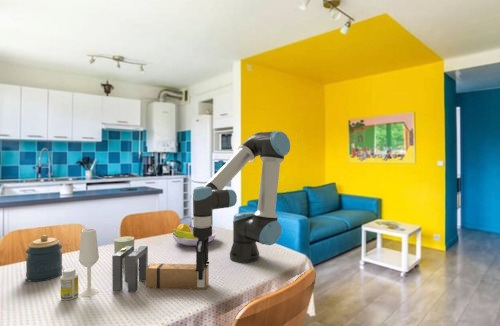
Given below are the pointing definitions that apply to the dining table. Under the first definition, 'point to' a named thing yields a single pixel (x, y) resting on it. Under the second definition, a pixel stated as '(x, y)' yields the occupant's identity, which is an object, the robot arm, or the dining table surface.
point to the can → (123, 244)
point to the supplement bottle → (69, 284)
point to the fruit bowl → (188, 235)
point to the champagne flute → (88, 257)
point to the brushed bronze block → (174, 276)
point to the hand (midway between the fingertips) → (202, 283)
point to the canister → (44, 259)
